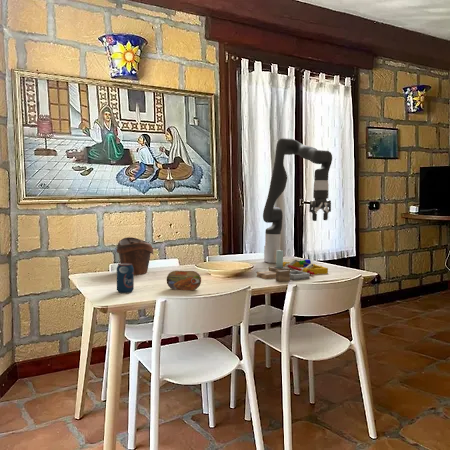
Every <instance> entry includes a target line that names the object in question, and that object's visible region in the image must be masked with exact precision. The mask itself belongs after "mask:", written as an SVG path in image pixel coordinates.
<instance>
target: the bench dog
mask: <svg viewBox="0 0 450 450" xmlns="http://www.w3.org/2000/svg"><path fill="white" fill-rule="evenodd" d="M290 271H291V270H290ZM290 271H289V270H278V271H276V278H275V282H278V283H284V282H290V281H291V279H290Z"/></svg>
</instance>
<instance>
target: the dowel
mask: <svg viewBox="0 0 450 450" xmlns="http://www.w3.org/2000/svg"><path fill="white" fill-rule="evenodd" d="M283 262H284V250H281V249H280V250H277V251H276V263H275V267H276V268H278V269H281V268H283Z"/></svg>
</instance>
